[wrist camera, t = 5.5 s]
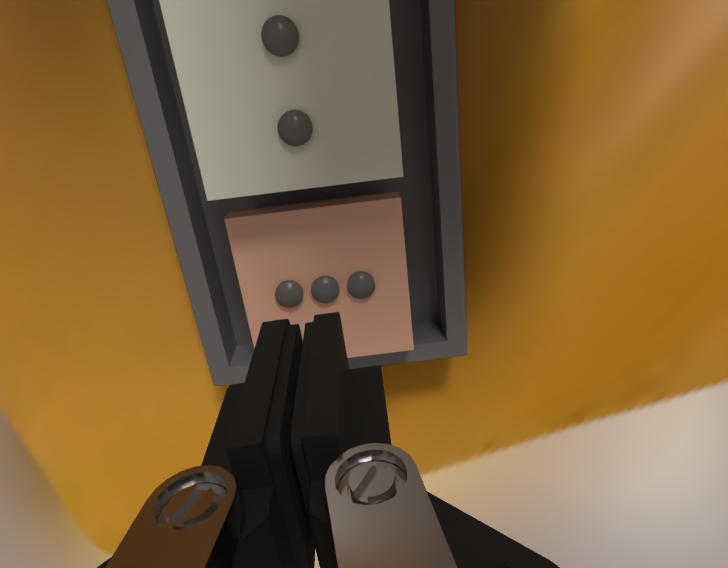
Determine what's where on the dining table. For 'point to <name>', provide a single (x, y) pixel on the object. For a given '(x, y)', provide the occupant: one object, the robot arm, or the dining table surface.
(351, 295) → the tile
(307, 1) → the tile
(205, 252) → the gray rectangular tray
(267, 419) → the robot arm
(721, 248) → the dining table surface
